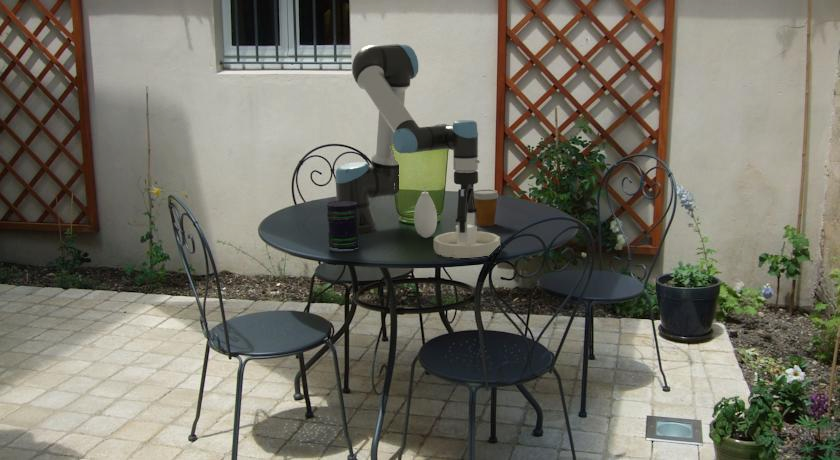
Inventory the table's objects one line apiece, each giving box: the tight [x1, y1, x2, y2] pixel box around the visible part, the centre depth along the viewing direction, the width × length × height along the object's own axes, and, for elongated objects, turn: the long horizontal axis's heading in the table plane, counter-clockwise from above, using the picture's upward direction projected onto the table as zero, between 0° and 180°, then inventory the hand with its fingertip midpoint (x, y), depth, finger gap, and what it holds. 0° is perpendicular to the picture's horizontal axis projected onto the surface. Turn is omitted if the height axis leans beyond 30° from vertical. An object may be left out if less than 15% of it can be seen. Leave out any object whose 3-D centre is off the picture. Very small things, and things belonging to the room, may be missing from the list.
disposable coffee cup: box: [474, 189, 499, 227], centre depth 315 cm, size 10×10×12 cm
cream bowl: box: [432, 230, 501, 259], centre depth 279 cm, size 20×20×4 cm
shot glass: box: [455, 224, 478, 245], centre depth 279 cm, size 7×7×7 cm
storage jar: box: [326, 200, 360, 249], centre depth 285 cm, size 10×10×15 cm
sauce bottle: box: [413, 184, 438, 239], centre depth 297 cm, size 8×8×18 cm
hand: (466, 237), depth 279 cm, fingers open, 13 cm apart
